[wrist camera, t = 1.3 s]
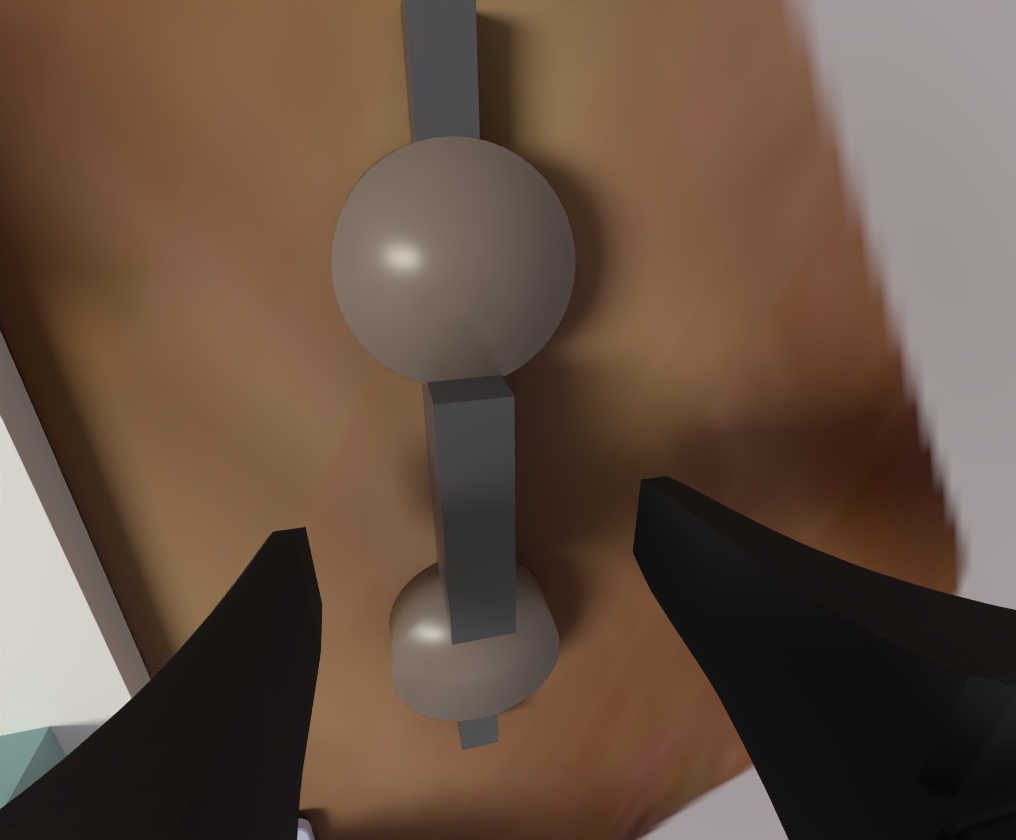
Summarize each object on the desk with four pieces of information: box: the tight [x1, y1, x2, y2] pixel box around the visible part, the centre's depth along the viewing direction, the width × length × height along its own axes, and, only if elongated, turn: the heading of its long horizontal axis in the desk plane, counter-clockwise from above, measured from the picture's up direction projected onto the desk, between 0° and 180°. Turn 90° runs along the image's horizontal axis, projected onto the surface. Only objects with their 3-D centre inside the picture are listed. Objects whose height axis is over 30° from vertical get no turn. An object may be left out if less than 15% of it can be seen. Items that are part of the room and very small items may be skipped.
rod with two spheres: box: [331, 0, 576, 750], centre depth 13 cm, size 20×5×3 cm, turn 1°
